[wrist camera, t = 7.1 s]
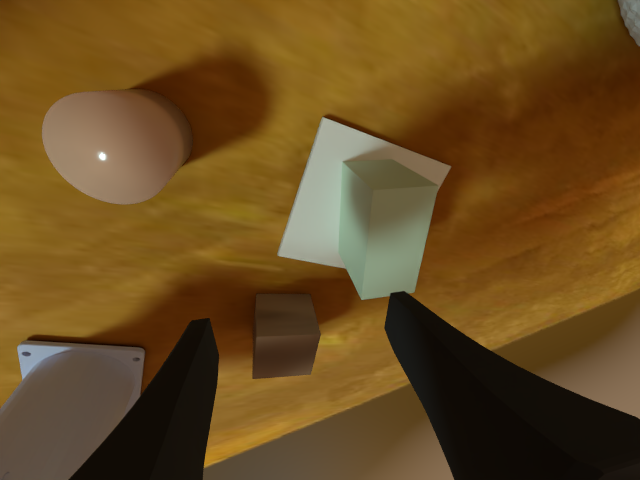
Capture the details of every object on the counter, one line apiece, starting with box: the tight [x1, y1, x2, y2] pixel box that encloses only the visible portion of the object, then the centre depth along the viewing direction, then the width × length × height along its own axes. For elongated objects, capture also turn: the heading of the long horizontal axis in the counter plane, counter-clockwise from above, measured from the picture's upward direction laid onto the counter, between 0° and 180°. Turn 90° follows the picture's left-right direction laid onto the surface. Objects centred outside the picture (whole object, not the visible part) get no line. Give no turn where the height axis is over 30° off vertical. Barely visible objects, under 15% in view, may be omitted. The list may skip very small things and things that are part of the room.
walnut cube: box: [253, 294, 321, 379], centre depth 22 cm, size 4×4×4 cm
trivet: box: [278, 117, 451, 269], centre depth 20 cm, size 10×10×1 cm
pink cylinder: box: [42, 89, 193, 204], centre depth 13 cm, size 4×4×5 cm
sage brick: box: [338, 159, 439, 300], centre depth 18 cm, size 7×4×6 cm, turn 0°
